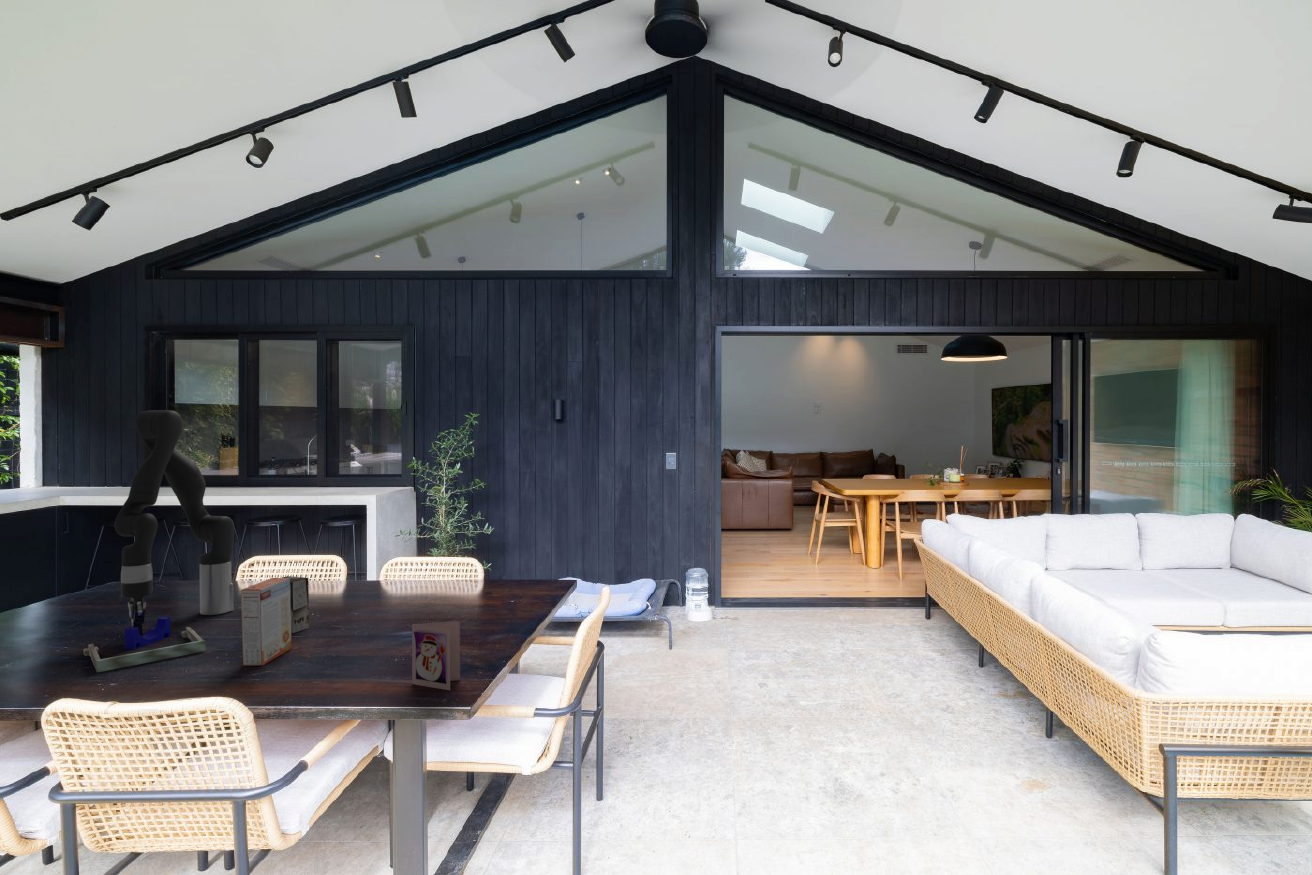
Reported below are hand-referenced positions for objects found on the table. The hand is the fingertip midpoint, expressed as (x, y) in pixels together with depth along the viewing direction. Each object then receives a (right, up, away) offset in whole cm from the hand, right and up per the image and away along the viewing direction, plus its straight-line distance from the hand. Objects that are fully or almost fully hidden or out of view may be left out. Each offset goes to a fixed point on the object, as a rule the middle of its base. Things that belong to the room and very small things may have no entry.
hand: (137, 636), depth 203 cm
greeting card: (+101, -2, -33) cm, 107 cm away
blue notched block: (+4, -2, -2) cm, 5 cm away
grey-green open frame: (+11, -1, -10) cm, 15 cm away
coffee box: (+40, -1, +11) cm, 42 cm away
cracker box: (+48, -2, -15) cm, 50 cm away
